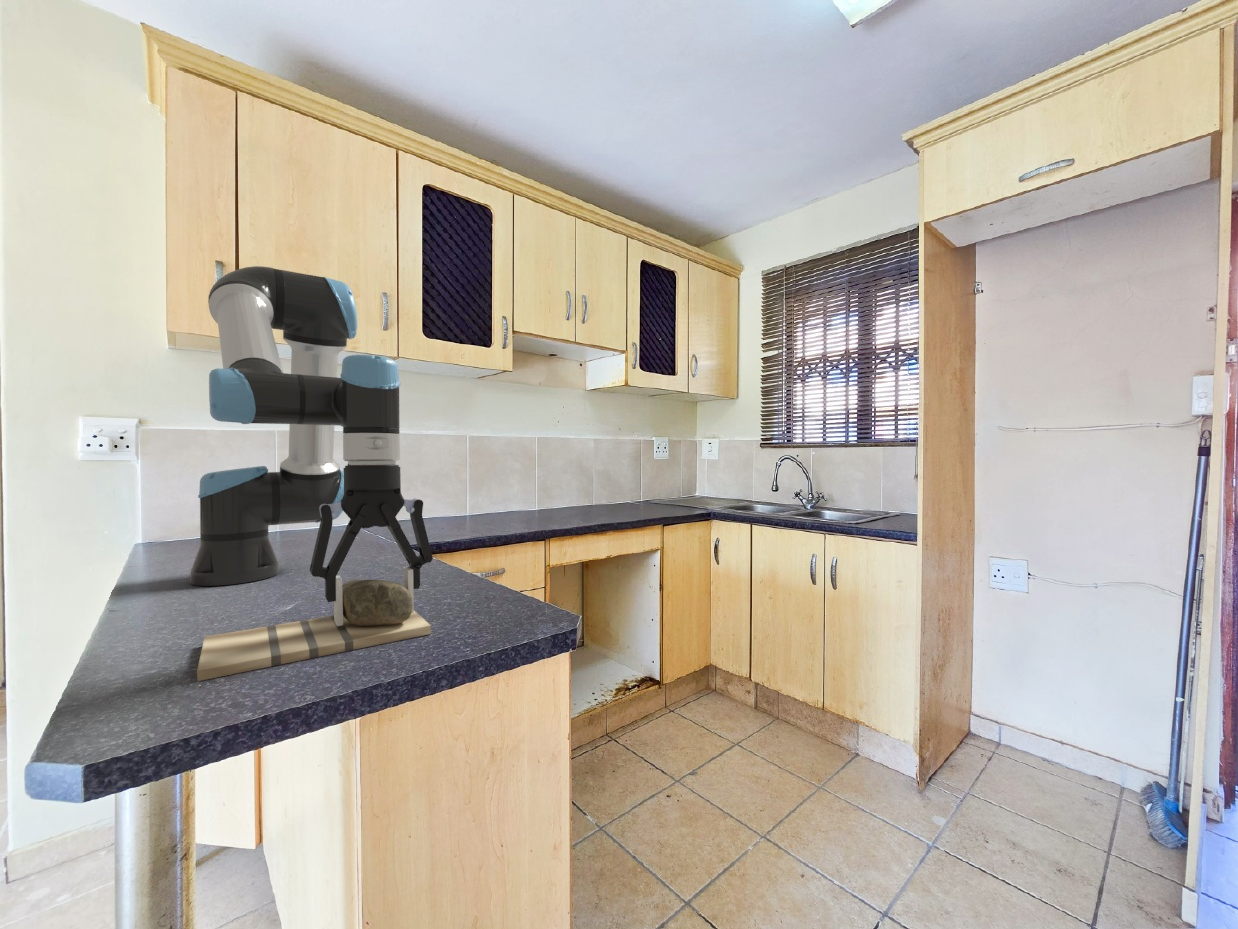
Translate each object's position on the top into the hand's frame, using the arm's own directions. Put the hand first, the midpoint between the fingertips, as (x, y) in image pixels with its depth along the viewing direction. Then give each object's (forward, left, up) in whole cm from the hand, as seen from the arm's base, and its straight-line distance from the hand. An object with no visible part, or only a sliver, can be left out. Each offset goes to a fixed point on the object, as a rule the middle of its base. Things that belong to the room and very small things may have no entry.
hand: (375, 616), depth 77 cm
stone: (-1, 0, -1) cm, 2 cm away
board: (0, -7, -2) cm, 7 cm away
